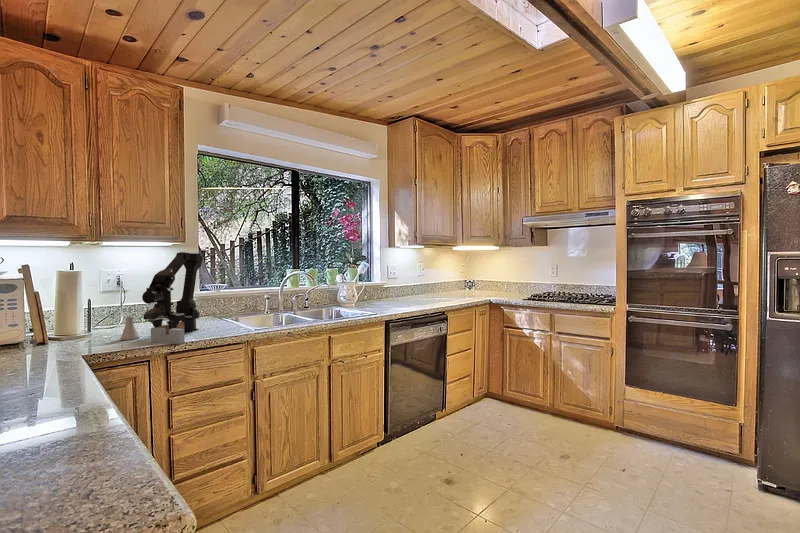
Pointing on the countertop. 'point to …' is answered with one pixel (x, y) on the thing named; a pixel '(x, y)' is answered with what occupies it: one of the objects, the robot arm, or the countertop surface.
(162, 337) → the slotted stand
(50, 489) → the countertop surface
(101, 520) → the countertop surface
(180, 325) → the walnut board
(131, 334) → the flask
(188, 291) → the robot arm
